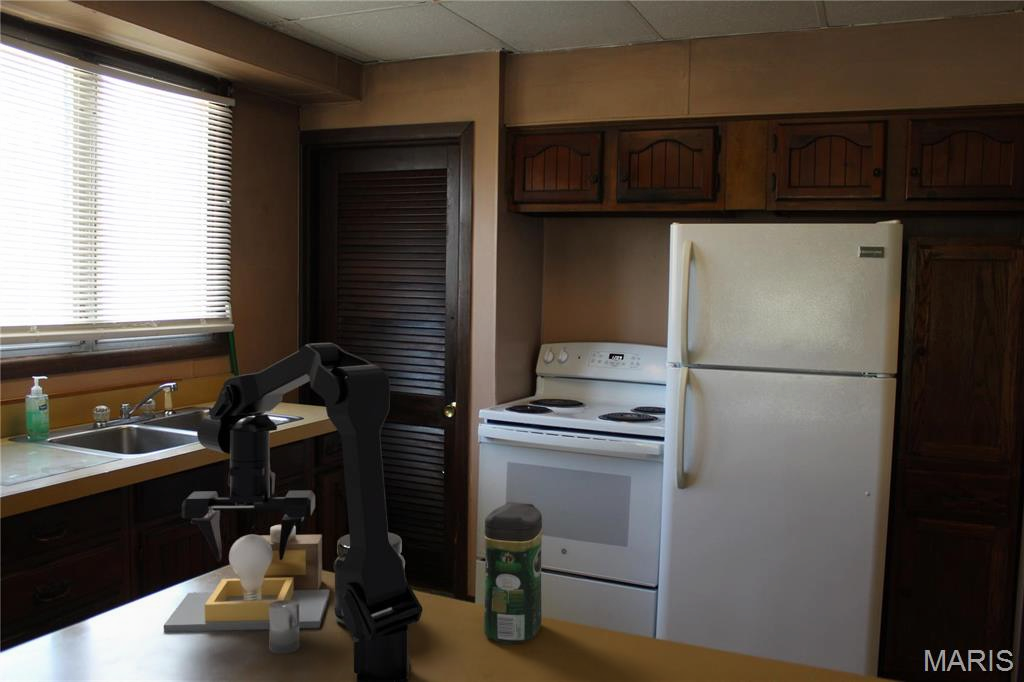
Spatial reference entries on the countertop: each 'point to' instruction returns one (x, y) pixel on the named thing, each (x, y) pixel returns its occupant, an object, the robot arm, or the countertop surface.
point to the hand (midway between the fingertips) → (250, 559)
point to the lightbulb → (251, 564)
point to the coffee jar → (513, 573)
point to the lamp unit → (297, 559)
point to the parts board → (244, 607)
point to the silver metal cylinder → (283, 626)
